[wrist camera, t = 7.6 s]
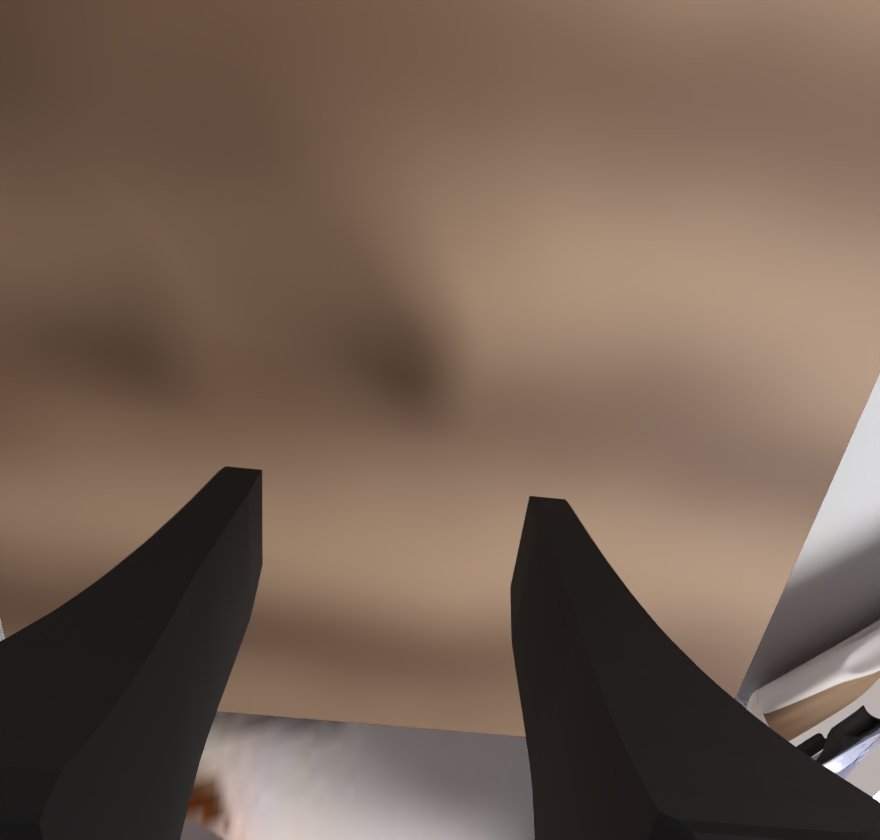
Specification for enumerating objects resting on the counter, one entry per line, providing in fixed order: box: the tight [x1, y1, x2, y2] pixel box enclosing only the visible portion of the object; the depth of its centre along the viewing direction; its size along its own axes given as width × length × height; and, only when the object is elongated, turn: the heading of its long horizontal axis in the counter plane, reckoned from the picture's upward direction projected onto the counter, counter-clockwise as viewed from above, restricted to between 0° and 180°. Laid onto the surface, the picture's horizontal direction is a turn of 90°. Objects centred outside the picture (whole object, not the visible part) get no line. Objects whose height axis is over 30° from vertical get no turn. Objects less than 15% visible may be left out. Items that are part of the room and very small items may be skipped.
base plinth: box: [0, 0, 880, 737], centre depth 18 cm, size 18×18×3 cm
